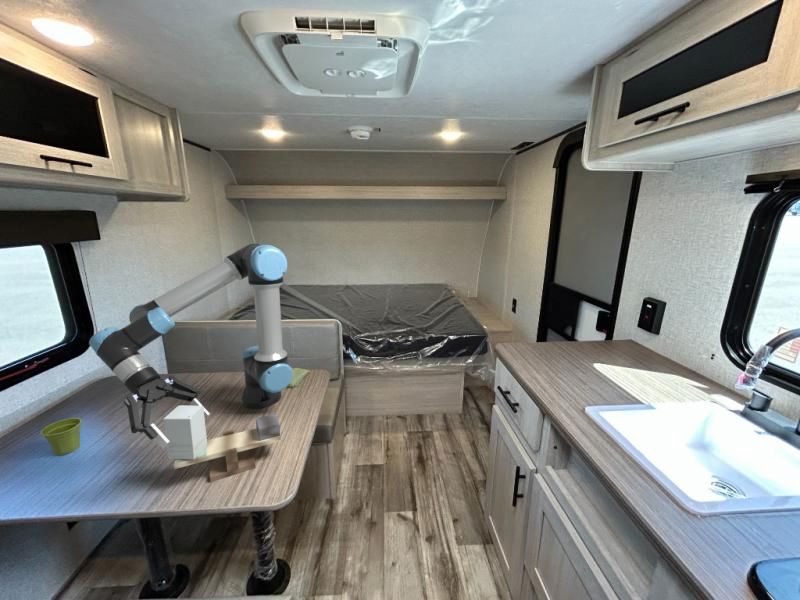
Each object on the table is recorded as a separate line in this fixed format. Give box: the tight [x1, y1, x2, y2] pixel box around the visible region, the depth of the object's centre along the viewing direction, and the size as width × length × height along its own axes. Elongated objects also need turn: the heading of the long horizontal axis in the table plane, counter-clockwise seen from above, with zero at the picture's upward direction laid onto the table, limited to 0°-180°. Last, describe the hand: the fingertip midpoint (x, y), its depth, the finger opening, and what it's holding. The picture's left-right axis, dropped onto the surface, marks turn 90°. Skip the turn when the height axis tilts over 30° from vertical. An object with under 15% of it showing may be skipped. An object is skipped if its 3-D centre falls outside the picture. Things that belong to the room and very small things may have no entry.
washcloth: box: [286, 367, 311, 389], centre depth 161 cm, size 13×18×3 cm
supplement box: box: [162, 404, 208, 460], centre depth 97 cm, size 7×7×13 cm
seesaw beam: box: [173, 413, 282, 470], centre depth 103 cm, size 28×8×6 cm, turn 120°
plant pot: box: [40, 417, 83, 456], centre depth 110 cm, size 9×9×9 cm
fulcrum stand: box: [208, 429, 256, 483], centre depth 104 cm, size 12×11×8 cm
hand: (187, 430), depth 96 cm, fingers open, 13 cm apart
